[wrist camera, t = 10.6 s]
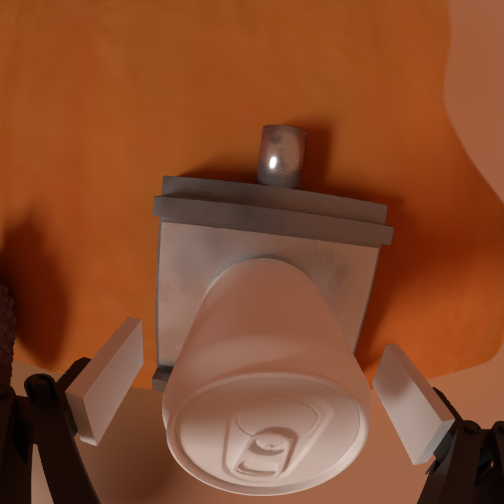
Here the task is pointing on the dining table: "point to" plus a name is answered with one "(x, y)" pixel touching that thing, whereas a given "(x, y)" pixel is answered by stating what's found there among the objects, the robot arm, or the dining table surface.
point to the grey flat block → (262, 241)
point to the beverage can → (265, 386)
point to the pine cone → (6, 334)
